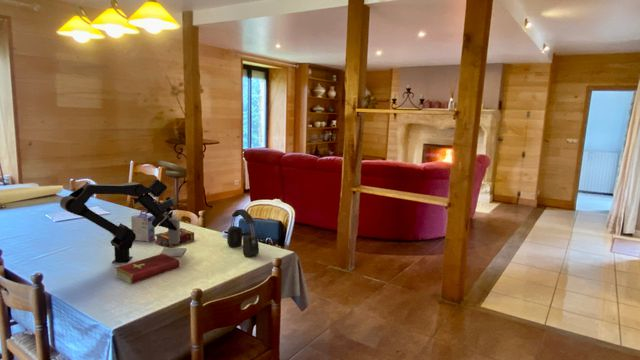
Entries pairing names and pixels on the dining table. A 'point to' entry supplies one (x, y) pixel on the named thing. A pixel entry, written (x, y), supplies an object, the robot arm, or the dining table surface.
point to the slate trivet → (174, 251)
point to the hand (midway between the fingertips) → (177, 228)
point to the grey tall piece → (172, 234)
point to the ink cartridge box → (143, 227)
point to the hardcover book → (147, 268)
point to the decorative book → (184, 237)
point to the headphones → (249, 240)
